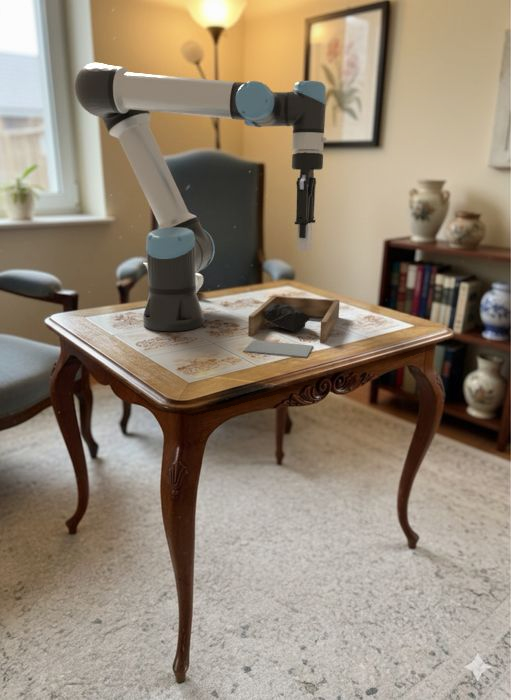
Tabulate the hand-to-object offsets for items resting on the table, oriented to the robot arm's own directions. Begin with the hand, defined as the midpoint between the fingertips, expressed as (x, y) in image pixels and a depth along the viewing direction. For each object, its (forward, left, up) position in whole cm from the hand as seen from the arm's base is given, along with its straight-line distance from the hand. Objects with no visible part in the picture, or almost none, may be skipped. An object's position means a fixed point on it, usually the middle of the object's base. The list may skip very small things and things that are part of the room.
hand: (304, 249), depth 137 cm
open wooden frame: (0, -7, -19) cm, 20 cm away
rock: (+1, -15, -18) cm, 24 cm away
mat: (0, -26, -19) cm, 32 cm away
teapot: (-44, +16, -19) cm, 51 cm away
